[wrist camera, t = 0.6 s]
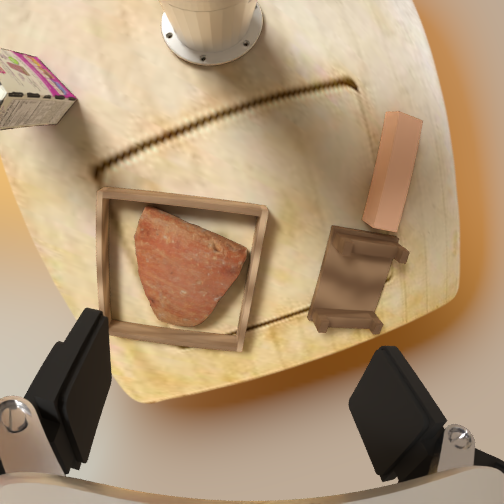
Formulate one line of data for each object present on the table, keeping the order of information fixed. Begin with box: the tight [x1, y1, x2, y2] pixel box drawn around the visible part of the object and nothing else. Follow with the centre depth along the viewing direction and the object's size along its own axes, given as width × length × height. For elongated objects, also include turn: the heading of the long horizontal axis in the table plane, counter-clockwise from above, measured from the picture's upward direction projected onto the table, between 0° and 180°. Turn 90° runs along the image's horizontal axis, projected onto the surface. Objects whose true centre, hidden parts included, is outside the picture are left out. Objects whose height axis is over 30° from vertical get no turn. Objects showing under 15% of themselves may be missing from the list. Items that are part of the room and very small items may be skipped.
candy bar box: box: [0, 48, 77, 130], centre depth 24 cm, size 11×5×16 cm, turn 42°
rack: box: [307, 225, 409, 334], centre depth 44 cm, size 15×11×5 cm
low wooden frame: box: [96, 187, 269, 352], centre depth 42 cm, size 22×22×3 cm
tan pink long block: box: [362, 111, 423, 232], centre depth 39 cm, size 16×4×4 cm, turn 170°
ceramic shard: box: [134, 206, 247, 327], centre depth 42 cm, size 15×6×15 cm
